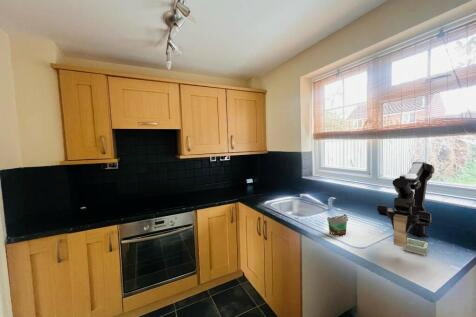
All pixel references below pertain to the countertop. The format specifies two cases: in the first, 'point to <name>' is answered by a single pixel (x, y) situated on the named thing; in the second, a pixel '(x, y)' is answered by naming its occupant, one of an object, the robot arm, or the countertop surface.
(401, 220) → the slat
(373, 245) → the countertop surface
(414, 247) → the end cap
